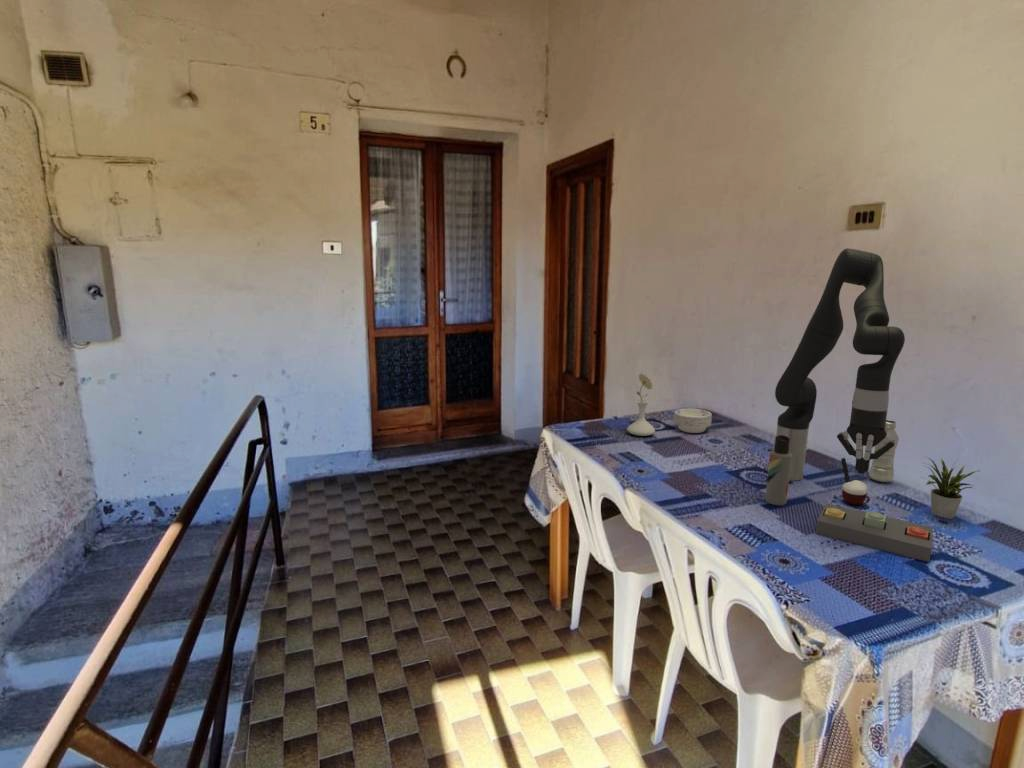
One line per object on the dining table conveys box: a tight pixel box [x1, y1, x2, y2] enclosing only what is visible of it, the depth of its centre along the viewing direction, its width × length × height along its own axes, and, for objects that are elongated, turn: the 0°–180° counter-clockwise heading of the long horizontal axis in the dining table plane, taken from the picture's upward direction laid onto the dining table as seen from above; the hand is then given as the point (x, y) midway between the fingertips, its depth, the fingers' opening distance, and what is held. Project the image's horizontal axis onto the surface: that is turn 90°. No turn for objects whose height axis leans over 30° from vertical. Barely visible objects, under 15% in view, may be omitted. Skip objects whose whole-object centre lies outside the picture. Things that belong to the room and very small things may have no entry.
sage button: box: [864, 511, 887, 530], centre depth 145 cm, size 4×4×4 cm
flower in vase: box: [626, 372, 656, 437], centre depth 231 cm, size 13×11×25 cm
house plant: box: [920, 455, 980, 519], centre depth 158 cm, size 14×14×16 cm
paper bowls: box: [673, 408, 713, 434], centre depth 238 cm, size 15×15×8 cm
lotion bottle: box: [765, 435, 792, 507], centre depth 164 cm, size 6×6×20 cm
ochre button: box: [824, 508, 845, 520], centre depth 150 cm, size 4×4×4 cm
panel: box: [815, 503, 934, 563], centre depth 145 cm, size 24×14×4 cm, turn 53°
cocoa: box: [840, 457, 871, 506], centre depth 166 cm, size 10×6×12 cm, turn 2°
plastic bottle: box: [868, 419, 900, 483], centre depth 181 cm, size 6×7×20 cm
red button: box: [906, 526, 928, 540], centre depth 140 cm, size 4×4×4 cm
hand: (861, 472), depth 144 cm, fingers closed
